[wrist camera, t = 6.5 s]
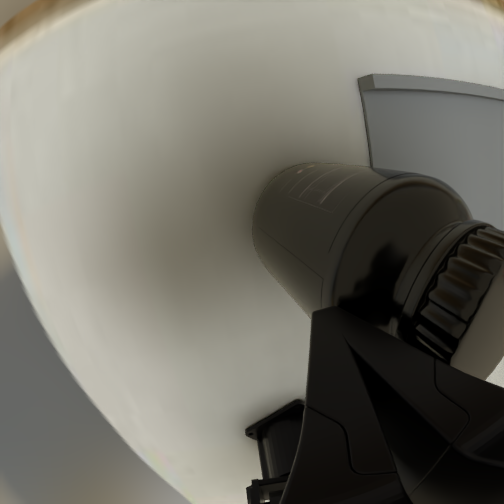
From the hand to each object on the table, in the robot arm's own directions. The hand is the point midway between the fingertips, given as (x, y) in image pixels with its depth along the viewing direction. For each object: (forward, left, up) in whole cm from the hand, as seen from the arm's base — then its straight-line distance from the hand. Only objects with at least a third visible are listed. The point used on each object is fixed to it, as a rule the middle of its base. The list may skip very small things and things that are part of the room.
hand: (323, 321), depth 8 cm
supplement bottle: (+1, -1, -9) cm, 9 cm away
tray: (+13, -9, -10) cm, 18 cm away
